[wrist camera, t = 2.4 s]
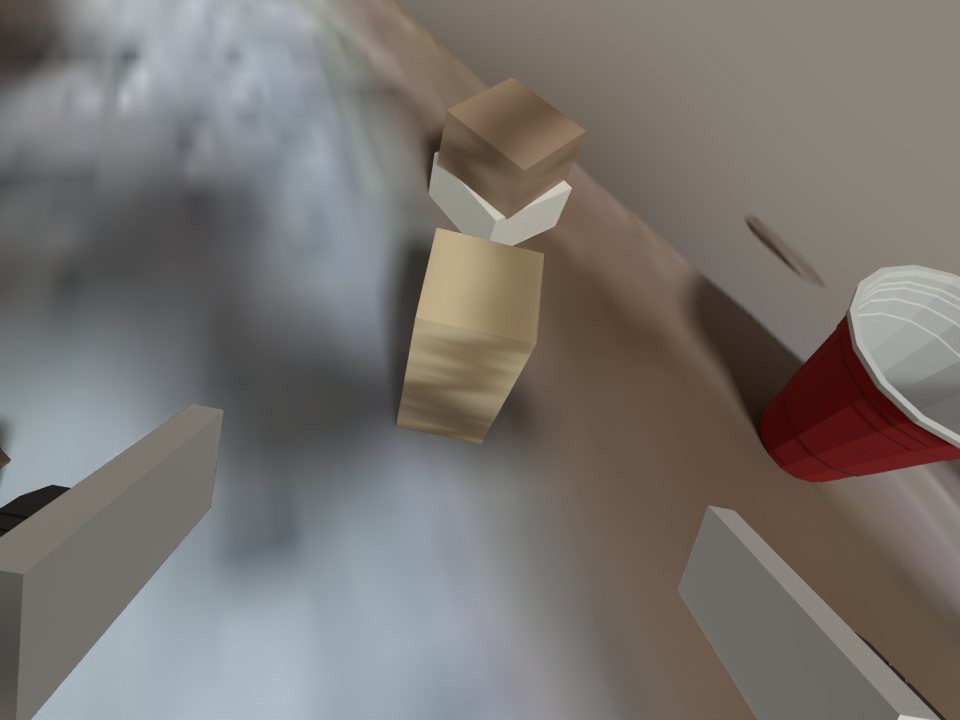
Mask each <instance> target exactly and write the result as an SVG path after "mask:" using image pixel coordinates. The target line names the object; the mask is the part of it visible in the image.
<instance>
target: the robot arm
mask: <svg viewBox="0 0 960 720" xmlns="http://www.w3.org/2000/svg"><path fill="white" fill-rule="evenodd" d="M223 412H224V410H222V409H217V408H212V407H207V406H202V405H196V404H191V405H190V406H189V407H187V408H186V409H184V410H183V411H181V412H180V413H179V414H177V415H176V416H174V417H173V418H171V419H170V420H168V421H167V422H166V423H164V424H163V425H161V426H160V427H158V428H157V429H156V430H154V431H153V432H151V433H150V434H148V435H147V436H145V437H144V438H143V439H141V440H140V441H138V442H137V443H135V444H134V445H133V446H131V447H130V448H128V449H127V450H125V451H124V452H122V453H121V454H120V455H118V456H117V457H115V458H114V459H112V460H111V461H110V462H108V463H107V464H105V465H104V466H102V467H101V468H99V469H98V470H97V471H95V472H94V473H92V474H91V475H89V476H88V477H87V478H85V479H84V480H82V481H81V482H79V483H78V484H76V485H75V486H74V487H72V488H67V487H62V486H56V485H50V486H47V487H44V488H42V489H39V490H36V491H33V492H30V493H27V494H24V495H21V496H19V497H18V498H16V499H14V500H13V501H11V502H10V503H8V504H7V505H5V506H3V507H2V508H0V720H31V719H32V717H33V716H34V715H35V714H36V713H37V712H38V710H39V709H40V708H41V707H42V706H43V704H44V703H45V702H46V701H47V700H48V699H49V697H50V696H51V695H52V694H53V693H54V691H55V690H56V689H57V688H58V687H59V686H60V684H61V683H62V682H63V681H64V680H65V679H66V677H67V676H68V675H69V674H70V673H71V671H72V670H73V669H74V668H75V667H76V666H77V664H78V663H79V662H80V661H81V660H82V658H83V657H84V656H85V655H86V654H87V653H88V651H89V650H90V649H91V648H92V647H93V645H94V644H95V643H96V642H97V641H98V640H99V638H100V637H101V636H102V635H103V634H104V633H105V631H106V630H107V629H108V628H109V627H110V625H111V624H112V623H113V622H114V621H115V620H116V618H117V617H118V616H119V615H120V614H121V612H122V611H123V610H124V609H125V608H126V607H127V605H128V604H129V603H130V602H131V601H132V599H133V598H134V597H135V596H136V595H137V594H138V592H139V591H140V590H141V589H142V588H143V587H144V585H145V584H146V583H147V582H148V581H149V579H150V578H151V577H152V576H153V575H154V574H155V572H156V571H157V570H158V569H159V568H160V566H161V565H162V564H163V563H164V562H165V561H166V559H167V558H168V557H169V556H170V555H171V553H172V552H173V551H174V550H175V549H176V548H177V546H178V545H179V544H180V543H181V542H182V541H183V539H184V538H185V537H186V536H187V535H188V533H189V532H190V531H191V530H192V529H193V528H194V526H195V525H196V524H197V523H198V522H199V520H200V519H201V518H202V517H203V516H204V515H205V513H206V512H207V511H208V510H209V509H210V507H211V502H212V494H213V487H214V479H215V472H216V464H217V457H218V450H219V442H220V435H221V427H222V420H223ZM678 592H679V594H680V595H681V597H682V599H683V600H684V602H685V603H686V605H687V607H688V608H689V610H690V612H691V613H692V615H693V616H694V618H695V620H696V621H697V623H698V625H699V626H700V628H701V629H702V631H703V633H704V634H705V636H706V637H707V639H708V641H709V642H710V644H711V646H712V647H713V649H714V650H715V652H716V654H717V655H718V657H719V659H720V660H721V662H722V663H723V665H724V667H725V668H726V670H727V671H728V673H729V675H730V676H731V678H732V680H733V681H734V683H735V684H736V686H737V688H738V689H739V691H740V692H741V694H742V696H743V697H744V699H745V701H746V702H747V704H748V705H749V707H750V709H751V710H752V712H753V714H754V715H755V717H756V718H757V720H946V719H945V718H944V717H943V716H942V715H941V714H940V713H939V712H938V711H937V710H936V709H935V708H934V707H933V706H932V705H931V704H930V703H929V702H928V701H927V700H926V699H925V698H924V697H923V696H922V695H921V694H920V693H919V692H918V691H917V690H916V689H915V688H914V687H913V686H912V685H911V684H910V683H907V682H905V678H904V677H903V676H902V675H901V674H900V673H899V672H898V671H897V670H896V669H895V668H894V667H893V666H889V664H888V663H889V662H888V661H887V660H886V659H885V658H884V657H883V656H882V655H881V654H880V653H879V652H878V651H877V650H876V649H875V648H874V647H873V646H872V645H871V644H870V643H869V642H868V641H866V640H865V639H864V638H862V637H861V636H860V635H858V634H857V633H856V632H854V631H853V630H852V629H851V628H850V627H849V626H848V625H847V624H846V623H845V622H844V621H843V620H842V619H841V618H840V617H839V616H838V615H837V614H836V613H835V612H834V611H833V610H832V609H831V608H830V607H829V606H828V605H827V604H826V603H825V602H824V601H823V600H822V599H821V598H820V597H819V596H818V595H817V594H816V593H815V592H814V591H813V590H812V589H811V588H810V587H809V586H808V585H807V584H806V583H805V582H804V581H803V580H802V579H801V578H800V577H799V576H798V575H797V574H796V573H795V572H794V571H793V570H792V569H791V568H790V567H789V566H788V565H787V564H786V563H785V562H784V561H783V560H782V559H781V558H780V557H779V556H778V555H777V554H776V553H775V552H774V551H773V549H772V548H771V547H770V546H769V545H768V544H767V543H766V542H765V541H764V540H763V539H762V538H761V537H760V536H759V535H758V534H757V533H756V532H755V531H754V530H753V529H752V528H751V527H750V526H749V525H748V524H747V523H746V522H745V521H744V520H743V519H742V518H741V517H740V516H739V515H738V514H737V513H736V512H735V511H734V510H729V509H724V508H718V507H713V506H708V508H707V511H706V514H705V516H704V519H703V522H702V525H701V527H700V530H699V533H698V536H697V538H696V541H695V544H694V547H693V549H692V552H691V555H690V558H689V560H688V563H687V566H686V569H685V571H684V574H683V577H682V580H681V582H680V585H679V588H678Z"/></svg>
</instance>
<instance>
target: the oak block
mask: <svg viewBox="0 0 960 720" xmlns="http://www.w3.org/2000/svg"><path fill="white" fill-rule="evenodd" d="M543 260H544V254H543V253H539V252H535V251H531V250H527V249H522V248H518V247H514V246H510V245H506V244H502V243H498V242H494V241H490V240H485V239H481V238H477V237H473V236H469V235H465V234H461V233H457V232H452V231H448V230H444V229H440V228H436V233H435V237H434V241H433V245H432V250H431V254H430V258H429V262H428V267H427V271H426V275H425V279H424V284H423V288H422V292H421V296H420V301H419V305H418V309H417V313H416V318H415V323H414V329H413V334H412V340H411V346H410V351H409V357H408V362H407V368H406V373H405V379H404V385H403V390H402V396H401V401H400V407H399V413H398V418H397V424H396V426H397V427H402V428H407V429H412V430H417V431H422V432H427V433H432V434H437V435H442V436H447V437H452V438H457V439H462V440H467V441H472V442H477V443H482V442H483V440H484V438H485V436H486V434H487V433H488V431H489V429H490V427H491V425H492V423H493V422H494V420H495V418H496V416H497V414H498V413H499V411H500V409H501V407H502V405H503V404H504V402H505V400H506V398H507V396H508V394H509V393H510V391H511V389H512V387H513V385H514V384H515V382H516V380H517V378H518V376H519V375H520V373H521V371H522V369H523V367H524V365H525V364H526V362H527V360H528V358H529V356H530V355H531V353H532V351H533V349H534V347H535V346H536V340H537V329H538V317H539V306H540V295H541V283H542V272H543Z"/></svg>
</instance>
